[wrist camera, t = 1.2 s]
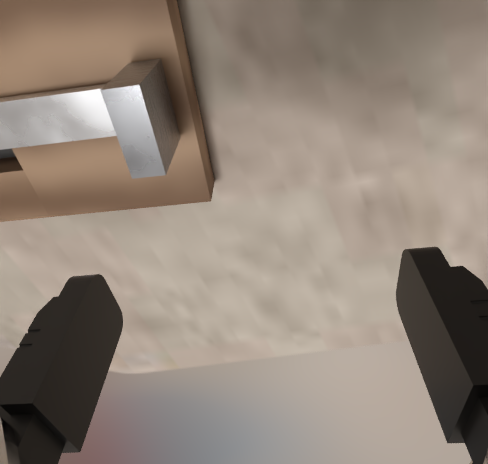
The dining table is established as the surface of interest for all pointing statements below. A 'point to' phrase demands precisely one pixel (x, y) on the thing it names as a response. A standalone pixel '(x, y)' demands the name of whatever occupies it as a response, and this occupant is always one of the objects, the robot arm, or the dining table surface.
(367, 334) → the dining table surface
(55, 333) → the robot arm
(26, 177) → the deck
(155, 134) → the sled
